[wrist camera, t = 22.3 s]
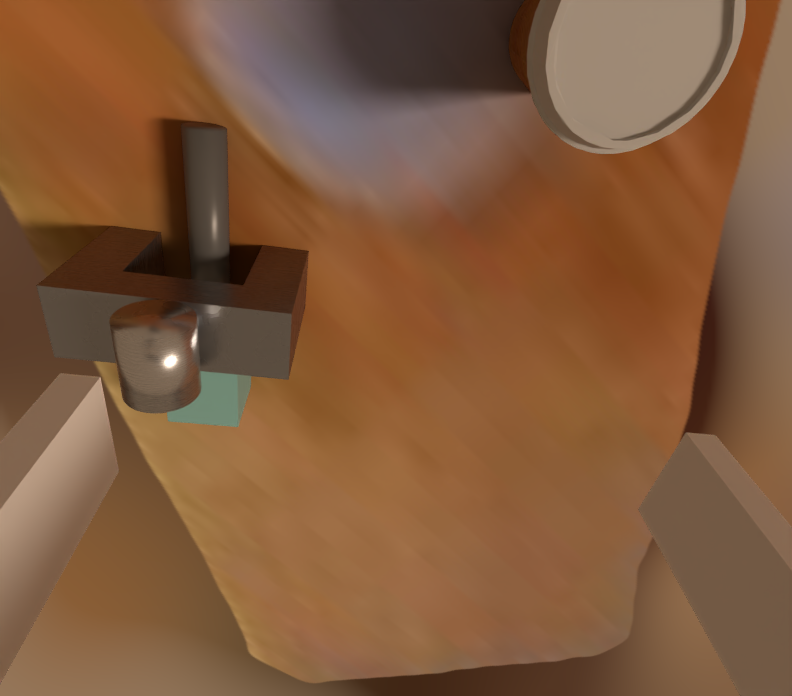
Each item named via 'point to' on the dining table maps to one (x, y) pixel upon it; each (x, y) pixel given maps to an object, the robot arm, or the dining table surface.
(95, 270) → the housing
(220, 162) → the mallet
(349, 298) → the dining table surface
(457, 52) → the dining table surface
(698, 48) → the disposable coffee cup
